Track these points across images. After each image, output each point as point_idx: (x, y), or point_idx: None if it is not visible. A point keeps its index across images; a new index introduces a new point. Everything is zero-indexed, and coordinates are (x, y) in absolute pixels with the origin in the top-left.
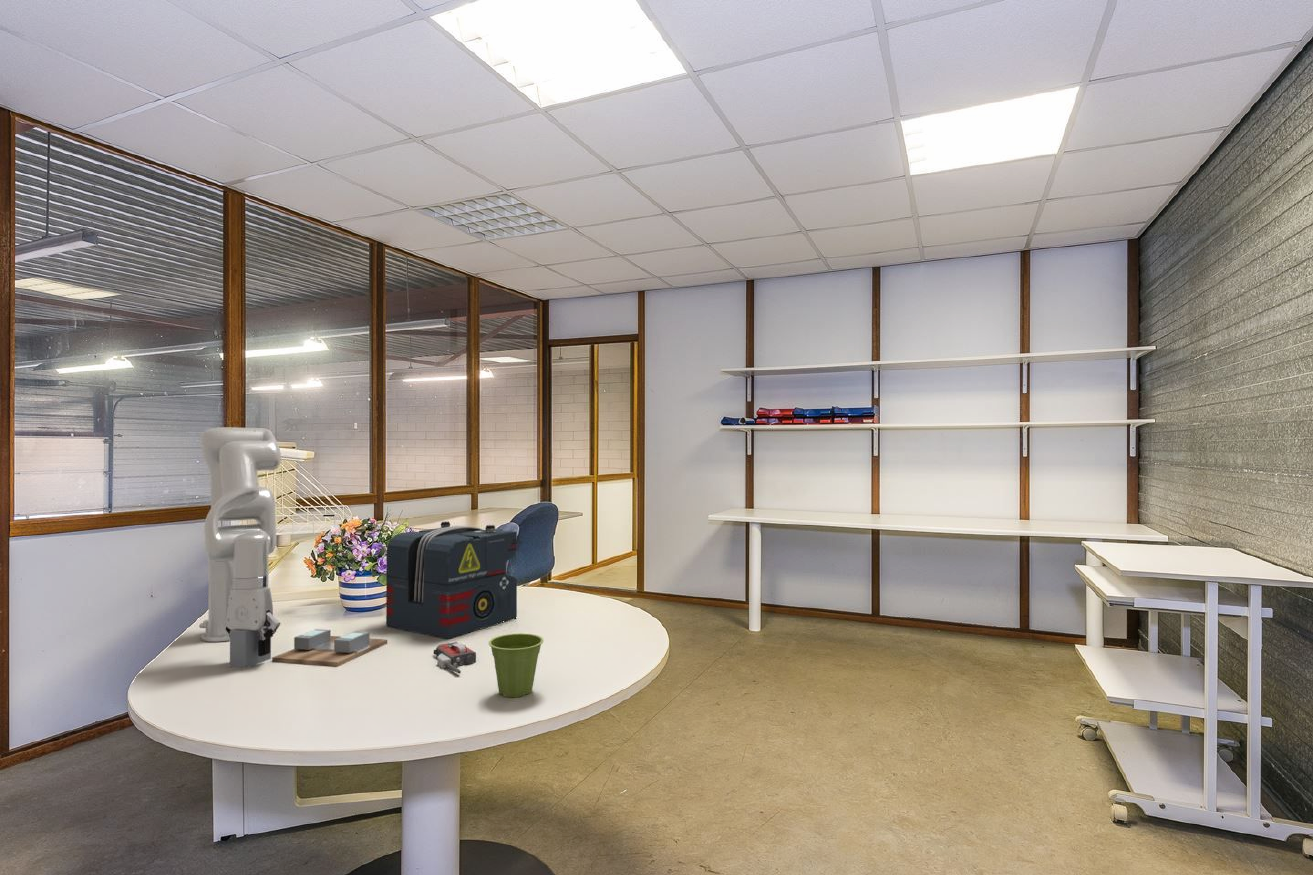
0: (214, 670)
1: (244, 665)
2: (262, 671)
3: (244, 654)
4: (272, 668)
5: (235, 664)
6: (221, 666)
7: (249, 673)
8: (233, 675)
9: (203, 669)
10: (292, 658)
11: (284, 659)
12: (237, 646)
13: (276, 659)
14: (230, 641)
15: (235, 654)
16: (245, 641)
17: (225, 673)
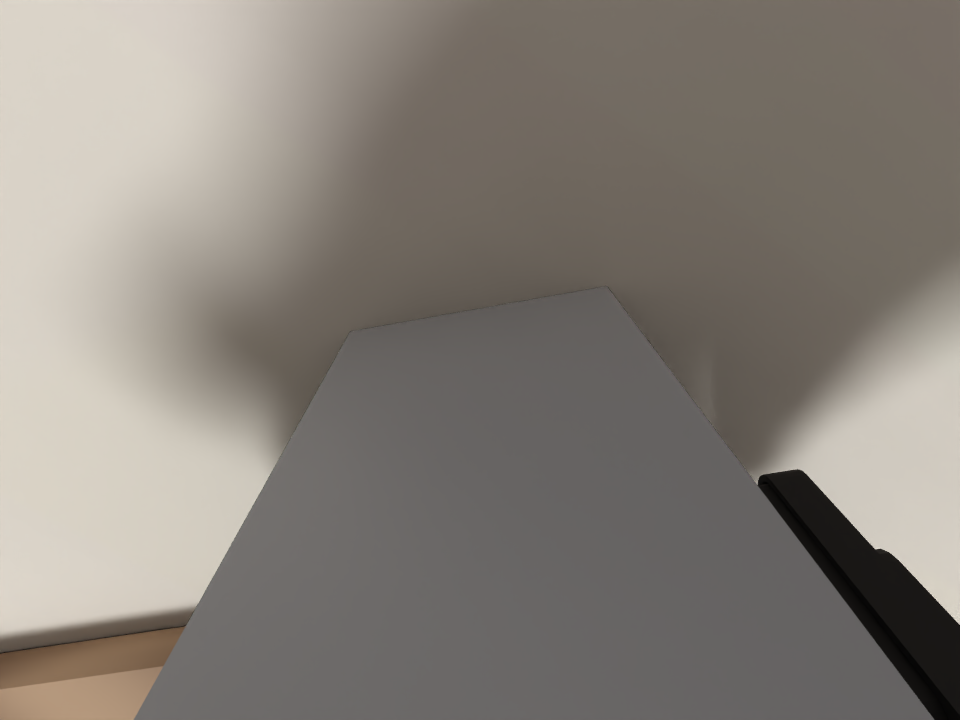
0: (706, 97)
1: (352, 345)
2: (12, 341)
3: (316, 428)
4: (41, 460)
5: (514, 319)
6: (763, 269)
7: (68, 215)
8: (175, 46)
9: (931, 58)
10: (55, 693)
11: (148, 657)
12: (478, 490)
13: None
14: (774, 541)
15: (525, 384)
16: (169, 659)
17: (395, 64)
